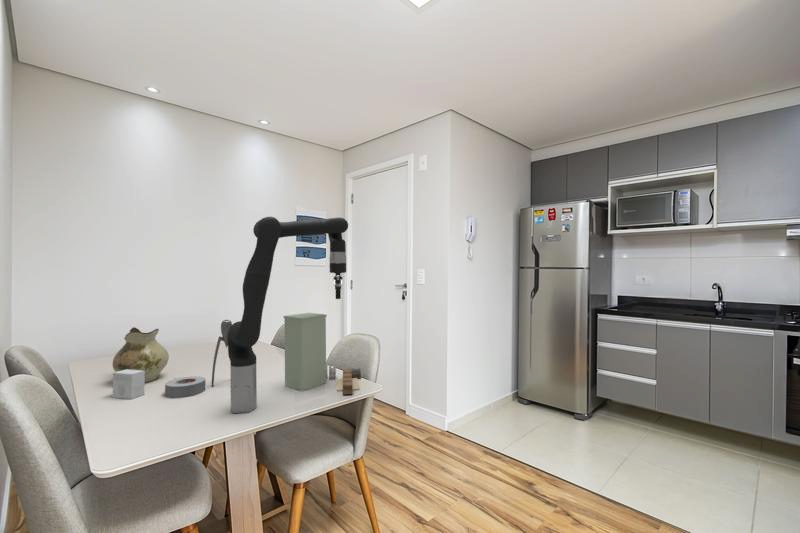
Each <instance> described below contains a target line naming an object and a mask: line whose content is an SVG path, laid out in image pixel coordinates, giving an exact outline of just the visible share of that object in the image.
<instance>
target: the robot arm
mask: <svg viewBox="0 0 800 533" xmlns="http://www.w3.org/2000/svg"><path fill="white" fill-rule="evenodd" d="M348 228H349V223H348V221H347V219H346V218H343V217H331V218H310V219H307V218H306V219H301V220H300V219H299V220H295V221H293V220H292V221H279V220H278V219H277V218H276V217H274V216H265V217H262V218H261V219H260V220H258V221H257V222H255V224H254V226H253V234H254V236H255V237H256V239H257V240H256V244H255V249H254V251H253V254H252V256H251V258H250V260H249V262H248V265H247V267H246V270H245V273H244V278H243V281H242V282H243V283H242V297H243V314H242V317H241V320H240V321H236V322H234V323H232V326H231V327H230V328H229V331H228V346H227V352H228V354H227V355H228V358H229V362H230V365H229V366H230V411H231V413H232V414H240V413H250V412H251V411H253V410H255V409H257V407H258V404H257V403H258V398H257V397H258V396H257V395H258V394H257V393H258V392H257V386H258V385H257V355H256V354H255V352H254V350H253V346H254V345H256V344H257V342H258V341H259V338H260V336H261V335H260V334H261V327H262V318H263V312H264V311H263V310H264V306H265V303H266V302H265V301H266V297H267V291H268V288H269V284H270V280H271V273H272V269H273V263H274V255H275V251H276V249H277V245H278V242H279V239H280V238H287V237H296V236H297V237H303V236H322V235H326V234H327V236H328V240H329V273H330V274H335V275H334V276H333V286H334V287H335V288H334V290H335V300H341V298H342V296H341V293H342V291H341V290H342V286H343V276H342V273H343V274H344V273H347V254H346V252H347V251H346V250H347V247H346V244H347V243H346V240H344V239H343V235H342V234H343V233H345V232H346V231H348Z"/></svg>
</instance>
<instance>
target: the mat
mask: <svg viewBox="0 0 800 533" xmlns="http://www.w3.org/2000/svg"><path fill="white" fill-rule="evenodd" d="M352 391H360V384H359V379H358V378H352ZM335 392H343V378H336V391H335Z"/></svg>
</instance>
